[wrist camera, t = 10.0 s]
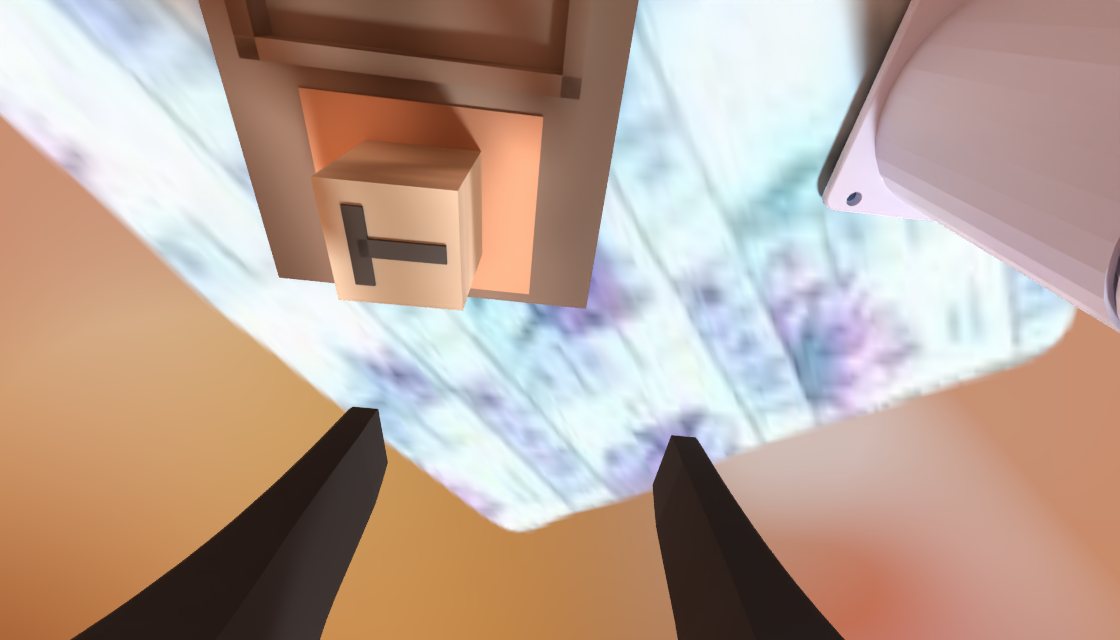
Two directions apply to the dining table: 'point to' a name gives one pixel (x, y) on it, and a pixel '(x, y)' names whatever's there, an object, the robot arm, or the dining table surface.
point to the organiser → (435, 117)
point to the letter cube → (402, 223)
